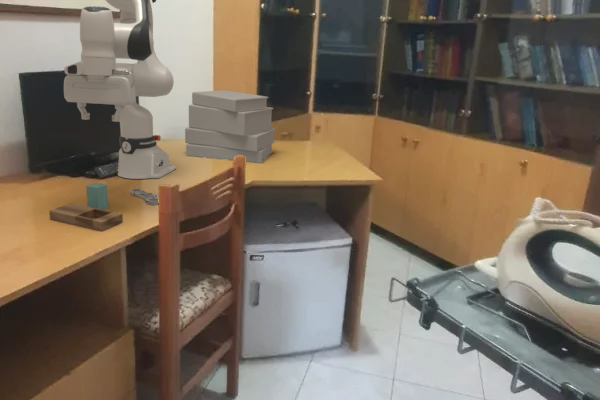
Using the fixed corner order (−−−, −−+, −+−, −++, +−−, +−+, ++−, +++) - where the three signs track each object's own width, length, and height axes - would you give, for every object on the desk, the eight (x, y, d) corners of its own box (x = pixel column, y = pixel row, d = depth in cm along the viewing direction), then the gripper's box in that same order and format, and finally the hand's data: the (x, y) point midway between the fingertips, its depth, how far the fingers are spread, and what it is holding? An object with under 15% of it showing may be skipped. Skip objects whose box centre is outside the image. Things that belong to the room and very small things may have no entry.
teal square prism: (97, 205, 162) (96, 182, 160) (108, 207, 160) (107, 184, 158) (87, 208, 158) (86, 185, 156) (98, 211, 157) (97, 187, 155)
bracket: (137, 202, 162) (129, 187, 175) (137, 208, 162) (129, 193, 175) (162, 200, 165) (153, 186, 178) (162, 206, 166) (153, 191, 178)
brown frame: (72, 211, 155) (71, 202, 155) (122, 222, 149) (122, 213, 148) (50, 219, 148) (49, 210, 148) (102, 231, 142) (101, 222, 141)
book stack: (262, 166, 218) (264, 101, 210) (179, 158, 223) (178, 95, 216) (277, 150, 247) (280, 93, 239) (204, 144, 252) (204, 88, 244)
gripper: (139, 70, 147) (140, 122, 150) (73, 68, 152) (76, 117, 155) (127, 70, 141) (128, 123, 144) (58, 67, 146) (61, 119, 149)
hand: (100, 120), depth 149 cm, fingers open, 8 cm apart
